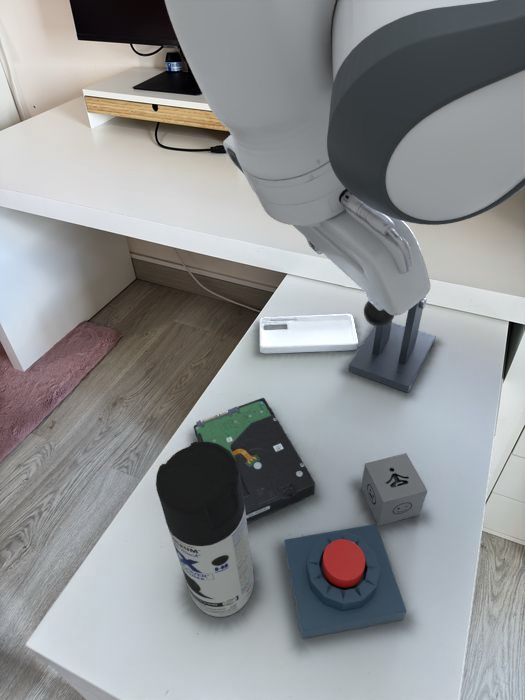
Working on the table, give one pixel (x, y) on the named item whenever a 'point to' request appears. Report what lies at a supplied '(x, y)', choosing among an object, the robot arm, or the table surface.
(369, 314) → the lever
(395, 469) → the dice cube
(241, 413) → the disk drive
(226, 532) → the spray can
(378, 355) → the bracket
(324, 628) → the button box
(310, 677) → the table surface
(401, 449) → the table surface
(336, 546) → the button
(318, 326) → the phone case
